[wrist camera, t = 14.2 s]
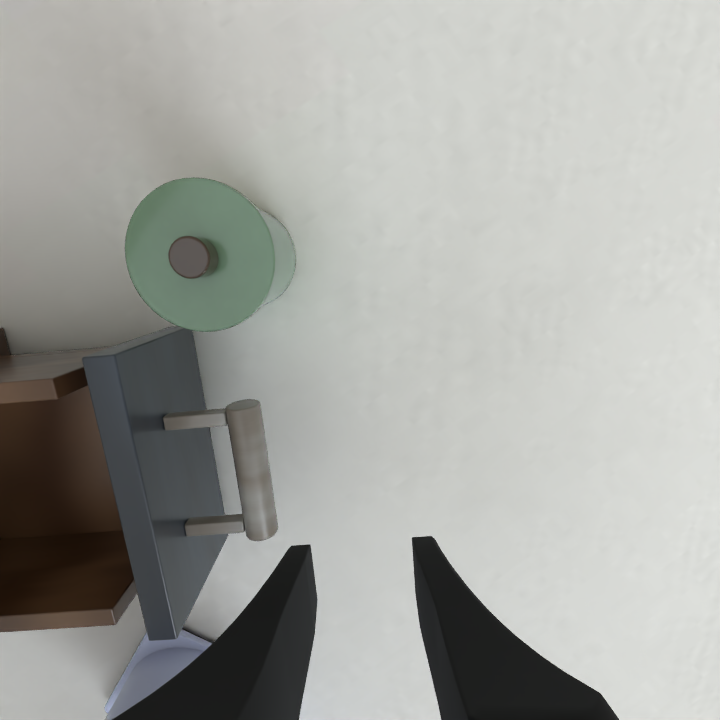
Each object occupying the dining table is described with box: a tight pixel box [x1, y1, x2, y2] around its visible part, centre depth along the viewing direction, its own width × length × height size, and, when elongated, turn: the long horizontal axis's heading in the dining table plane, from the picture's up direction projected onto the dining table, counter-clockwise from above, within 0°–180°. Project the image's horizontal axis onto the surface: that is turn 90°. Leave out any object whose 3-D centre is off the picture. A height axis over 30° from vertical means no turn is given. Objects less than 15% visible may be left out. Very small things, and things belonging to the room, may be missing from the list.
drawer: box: [0, 326, 278, 641], centre depth 19 cm, size 16×12×7 cm
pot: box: [125, 177, 296, 332], centre depth 18 cm, size 5×5×8 cm
